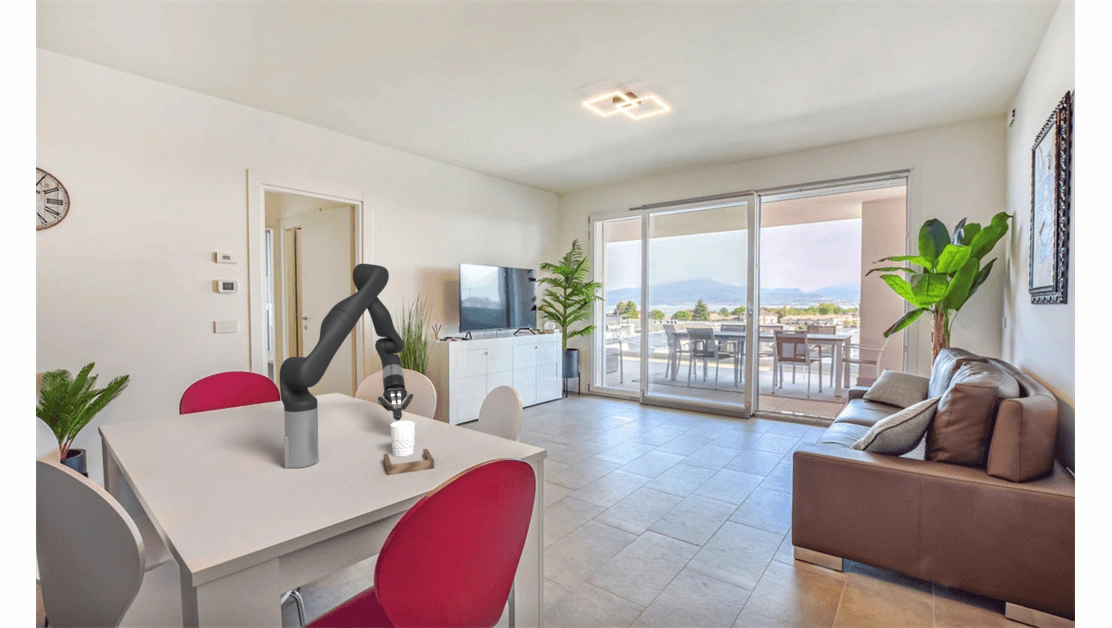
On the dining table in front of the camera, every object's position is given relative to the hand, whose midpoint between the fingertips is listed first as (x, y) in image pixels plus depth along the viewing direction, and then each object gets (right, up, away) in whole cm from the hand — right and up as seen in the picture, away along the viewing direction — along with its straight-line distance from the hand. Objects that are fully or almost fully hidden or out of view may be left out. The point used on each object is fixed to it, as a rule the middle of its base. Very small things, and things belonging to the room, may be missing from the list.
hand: (398, 419), depth 176 cm
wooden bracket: (+10, -9, -22) cm, 26 cm away
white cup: (+6, -9, -12) cm, 16 cm away
